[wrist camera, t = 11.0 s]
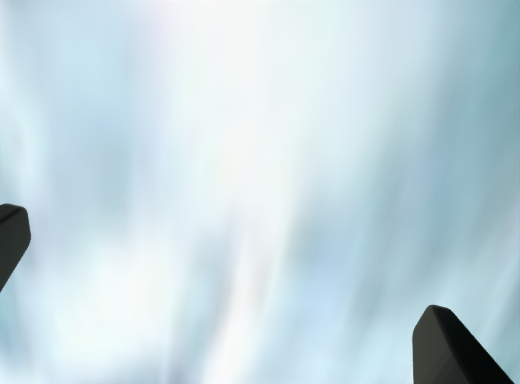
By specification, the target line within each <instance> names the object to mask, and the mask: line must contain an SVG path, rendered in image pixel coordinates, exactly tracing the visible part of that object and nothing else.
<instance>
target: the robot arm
mask: <svg viewBox="0 0 520 384" xmlns="http://www.w3.org/2000/svg"><path fill="white" fill-rule="evenodd" d="M30 240H31V232H30V225H29V219H28V213H27V210H26V209H25V208H24V207H21V206H17V205H13V204H2V205H0V292H1V291H2V289H3V287H4V286H5V284H6V282H7V281H8V279H9V277H10V276H11V274H12V273H13V271H14V269H15V268H16V266H17V264H18V263H19V261H20V259H21V258H22V256H23V254H24V253H25V251H26V250H27V248H28V246H29V244H30ZM412 344H413V381H414V384H514V382H513V381H512V380H511V379H510V378H509V377H508V375H507V374H506V373H505V372H504V371H503V370H502V369H501V367H500V366H499V365H498V364H497V363H496V362H495V360H494V359H493V358H492V357H491V356H490V355H489V353H488V352H487V351H486V350H485V349H484V348H483V346H482V345H481V344H480V343H479V342H478V341H477V340H476V338H475V337H474V336H473V335H472V334H471V333H470V331H469V330H468V329H467V328H466V327H465V326H464V324H463V323H462V322H461V321H460V320H459V319H458V318H457V316H456V315H455V314H454V313H453V312H452V311H451V310H450V309H448V308H445V307H441V306H437V305H429V306H428V307H427V308H426V310H425V311H424V313H423V315H422V316H421V318H420V320H419V321H418V323H417V325H416V326H415V328H414V331H413V337H412Z"/></svg>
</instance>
